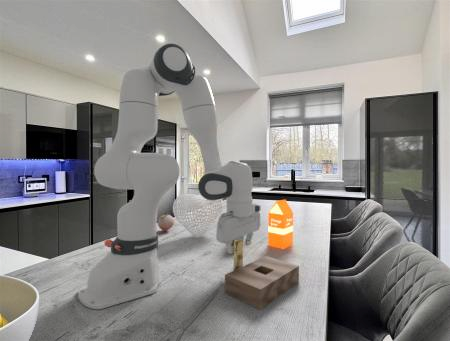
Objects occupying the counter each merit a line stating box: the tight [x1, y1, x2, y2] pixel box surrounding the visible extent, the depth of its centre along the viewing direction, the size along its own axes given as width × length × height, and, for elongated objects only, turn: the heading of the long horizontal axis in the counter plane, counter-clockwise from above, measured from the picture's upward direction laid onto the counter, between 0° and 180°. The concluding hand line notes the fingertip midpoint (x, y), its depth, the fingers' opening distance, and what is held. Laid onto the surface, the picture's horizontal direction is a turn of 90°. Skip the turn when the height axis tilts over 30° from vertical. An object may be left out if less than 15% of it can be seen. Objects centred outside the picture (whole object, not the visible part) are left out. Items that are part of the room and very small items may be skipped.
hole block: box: [224, 255, 300, 310], centre depth 72 cm, size 20×12×5 cm, turn 137°
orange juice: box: [267, 199, 294, 250], centre depth 112 cm, size 8×9×20 cm
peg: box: [233, 239, 244, 271], centre depth 84 cm, size 3×3×10 cm
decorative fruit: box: [157, 212, 175, 232], centre depth 133 cm, size 9×8×10 cm
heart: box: [172, 193, 224, 239], centre depth 122 cm, size 28×16×22 cm, turn 140°
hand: (239, 248), depth 86 cm, fingers open, 8 cm apart
